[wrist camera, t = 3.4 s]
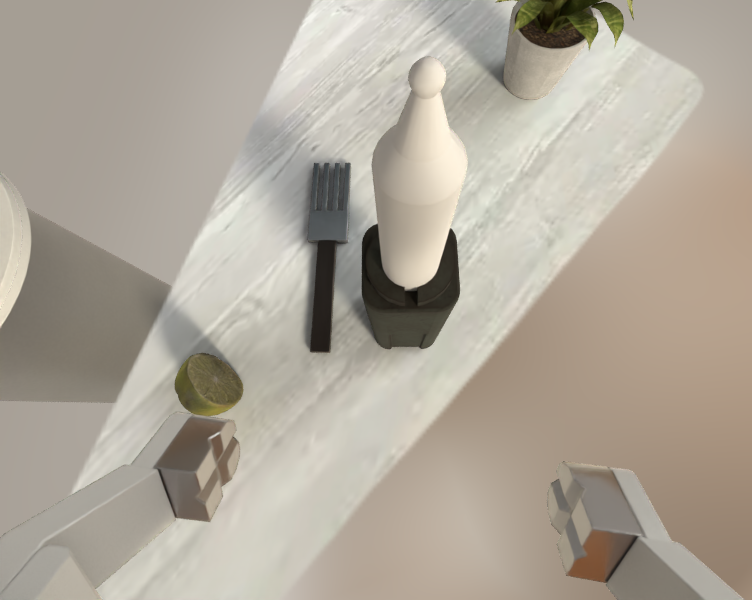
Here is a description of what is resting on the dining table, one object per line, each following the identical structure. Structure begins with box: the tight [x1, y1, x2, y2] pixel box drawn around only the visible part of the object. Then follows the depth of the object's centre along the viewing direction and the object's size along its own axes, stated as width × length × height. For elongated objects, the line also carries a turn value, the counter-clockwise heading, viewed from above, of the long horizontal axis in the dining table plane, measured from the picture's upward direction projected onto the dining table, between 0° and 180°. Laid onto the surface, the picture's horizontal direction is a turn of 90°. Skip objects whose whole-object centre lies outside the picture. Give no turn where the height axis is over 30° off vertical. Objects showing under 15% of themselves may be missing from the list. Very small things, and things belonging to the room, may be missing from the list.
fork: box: [307, 163, 351, 353], centre depth 34 cm, size 4×18×1 cm, turn 179°
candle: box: [362, 56, 467, 349], centre depth 20 cm, size 5×5×25 cm
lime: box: [175, 353, 243, 416], centre depth 29 cm, size 4×5×5 cm
